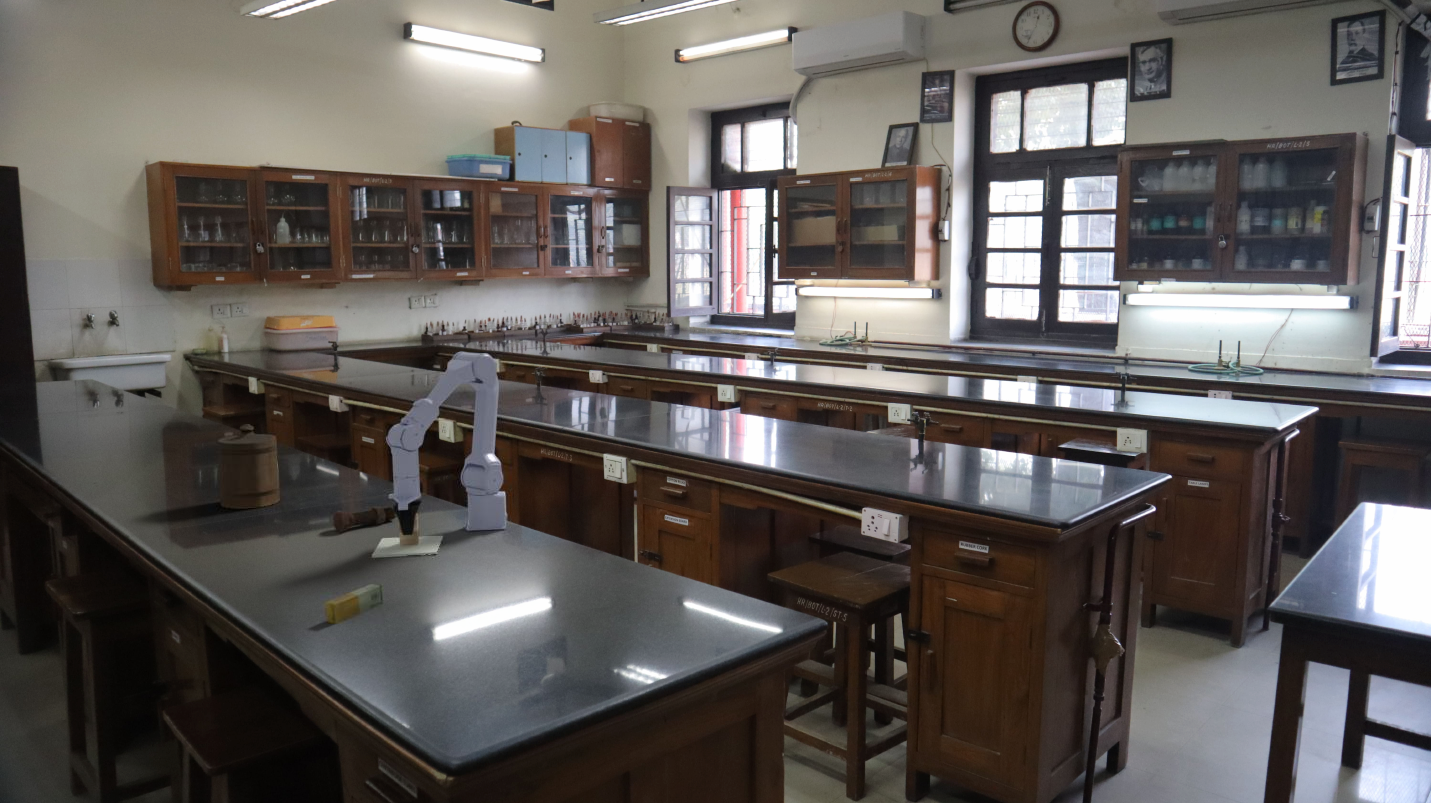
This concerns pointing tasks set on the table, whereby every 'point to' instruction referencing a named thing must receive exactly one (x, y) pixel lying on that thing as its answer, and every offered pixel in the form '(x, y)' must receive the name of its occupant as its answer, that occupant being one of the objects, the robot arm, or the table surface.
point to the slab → (412, 538)
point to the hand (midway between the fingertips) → (408, 532)
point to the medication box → (353, 603)
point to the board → (407, 547)
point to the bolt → (362, 518)
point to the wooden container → (248, 470)
